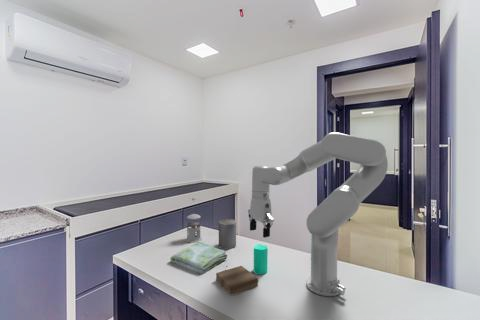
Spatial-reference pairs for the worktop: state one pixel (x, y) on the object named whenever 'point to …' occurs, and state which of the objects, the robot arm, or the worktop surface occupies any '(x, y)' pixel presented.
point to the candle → (260, 259)
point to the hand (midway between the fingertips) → (259, 233)
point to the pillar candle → (227, 233)
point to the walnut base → (236, 280)
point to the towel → (199, 257)
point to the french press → (193, 229)
